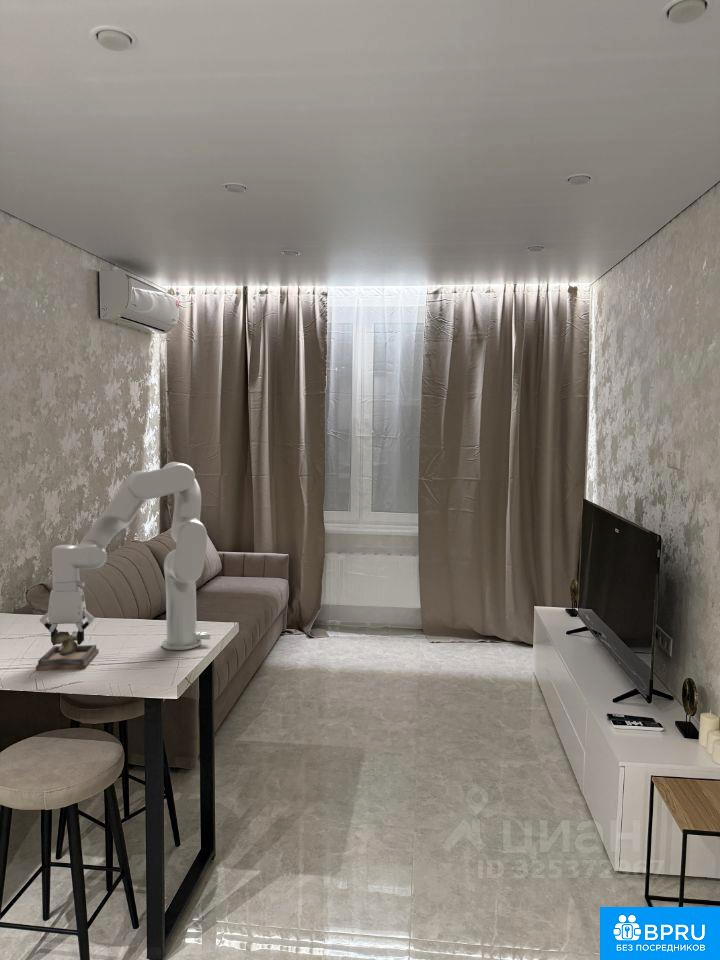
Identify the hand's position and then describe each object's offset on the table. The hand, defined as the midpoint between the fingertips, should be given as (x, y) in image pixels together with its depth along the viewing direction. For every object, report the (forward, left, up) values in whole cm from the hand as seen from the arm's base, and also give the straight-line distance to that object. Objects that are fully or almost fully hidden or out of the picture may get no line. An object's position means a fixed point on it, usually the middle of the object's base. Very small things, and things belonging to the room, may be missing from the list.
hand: (67, 643), depth 218 cm
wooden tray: (0, 0, -6) cm, 6 cm away
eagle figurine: (0, +2, -2) cm, 3 cm away
